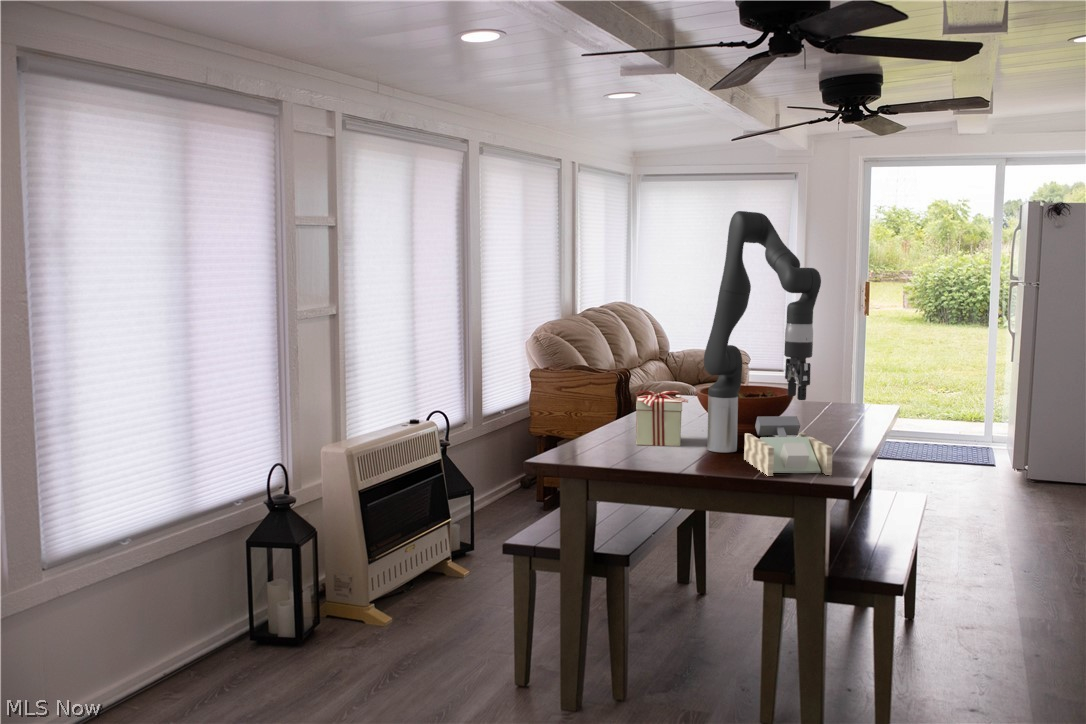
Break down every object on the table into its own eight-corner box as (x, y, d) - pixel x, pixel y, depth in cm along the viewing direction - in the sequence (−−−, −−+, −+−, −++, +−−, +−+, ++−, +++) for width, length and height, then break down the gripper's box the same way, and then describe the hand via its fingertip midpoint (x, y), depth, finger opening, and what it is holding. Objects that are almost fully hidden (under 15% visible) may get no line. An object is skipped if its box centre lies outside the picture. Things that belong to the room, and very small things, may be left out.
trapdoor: (751, 426, 284) (754, 416, 281) (797, 426, 285) (800, 416, 282) (769, 480, 266) (772, 470, 264) (818, 479, 267) (821, 469, 265)
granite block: (780, 456, 269) (783, 443, 266) (801, 455, 269) (804, 443, 266) (784, 468, 265) (788, 455, 262) (805, 468, 265) (809, 455, 262)
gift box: (636, 447, 304) (637, 394, 302) (632, 437, 322) (633, 387, 320) (689, 448, 303) (690, 395, 301) (683, 438, 321) (684, 387, 320)
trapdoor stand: (744, 459, 285) (744, 433, 284) (802, 459, 286) (803, 432, 285) (767, 476, 261) (768, 448, 260) (831, 476, 262) (832, 447, 261)
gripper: (821, 342, 255) (818, 401, 257) (803, 337, 269) (801, 394, 271) (793, 342, 255) (791, 401, 257) (777, 337, 269) (775, 394, 271)
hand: (796, 397), depth 264 cm, fingers open, 8 cm apart
